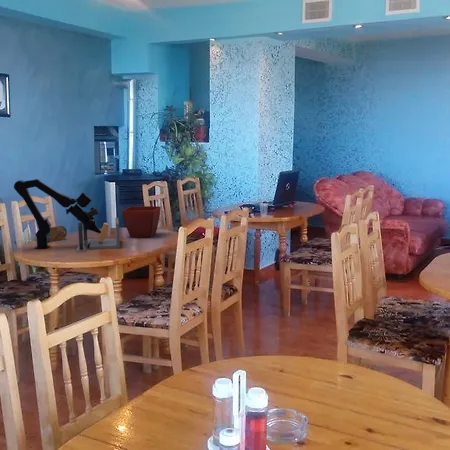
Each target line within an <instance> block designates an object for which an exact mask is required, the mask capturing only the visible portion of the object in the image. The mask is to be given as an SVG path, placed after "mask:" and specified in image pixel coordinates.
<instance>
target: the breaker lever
mask: <svg viewBox="0 0 450 450" xmlns="http://www.w3.org/2000/svg"><path fill="white" fill-rule="evenodd" d="M108 229H109V223H107V222H103V225H102V227H101V229H100V231H101V233H99V236H98V238H97V239H98V241H99V243H101V242H103V239H105V236H106V234H107V231H108Z"/></svg>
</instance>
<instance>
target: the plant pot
mask: <svg viewBox="0 0 450 450" xmlns="http://www.w3.org/2000/svg"><path fill="white" fill-rule="evenodd" d="M161 208H162V207H161V206H154V205H153V206H145V205H143V206H141V205H137V206H134V205H133V206H129V207H127V208H124V209H123V210H122V211H121V213H122V217H123V220H124V224H125V227H126V229H127V232H128V235H129V237H130V238H152V237H153V236H154V235H156V233H157V230H158V226H159V224H160V223H159V221H160V216H161Z"/></svg>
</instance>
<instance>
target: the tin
mask: <svg viewBox="0 0 450 450" xmlns="http://www.w3.org/2000/svg"><path fill="white" fill-rule="evenodd" d="M67 235H68V231H67V228H66V227H65V226H63V225H56V226H51V230H50V232H49V233H48V234H47V235H46V236H47V240H48V243H54V242H59V241H63V240H65V239H66V237H67ZM53 241H54V242H53Z"/></svg>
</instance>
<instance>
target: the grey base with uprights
mask: <svg viewBox="0 0 450 450" xmlns="http://www.w3.org/2000/svg"><path fill="white" fill-rule="evenodd" d="M114 220H115V221H114V222H115V238H104V239H103V242H101V243H99V241H98V238H95V239H94V238H93V239H91V238H89V239H90V243H89V250H105V249H106V250H107V249H120V248H121V244H120V221H119V217H115V218H114Z"/></svg>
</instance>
